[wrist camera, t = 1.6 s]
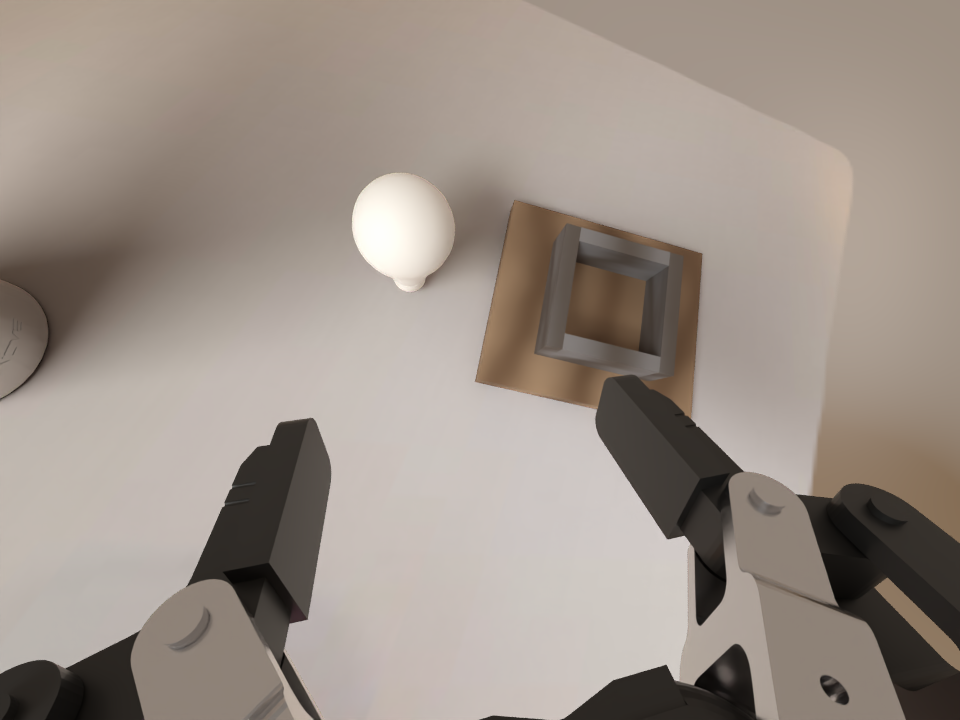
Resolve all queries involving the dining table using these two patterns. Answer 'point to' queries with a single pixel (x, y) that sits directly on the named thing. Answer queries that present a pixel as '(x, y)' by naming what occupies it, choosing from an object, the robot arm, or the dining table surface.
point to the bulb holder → (589, 310)
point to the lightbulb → (403, 228)
